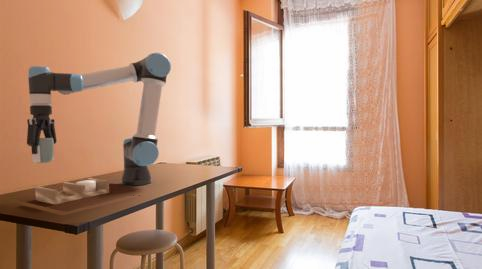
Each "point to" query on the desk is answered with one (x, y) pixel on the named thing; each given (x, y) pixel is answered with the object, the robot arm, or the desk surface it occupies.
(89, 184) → the white rounded piece
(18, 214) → the desk surface
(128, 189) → the desk surface
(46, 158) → the cup
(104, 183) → the rack
